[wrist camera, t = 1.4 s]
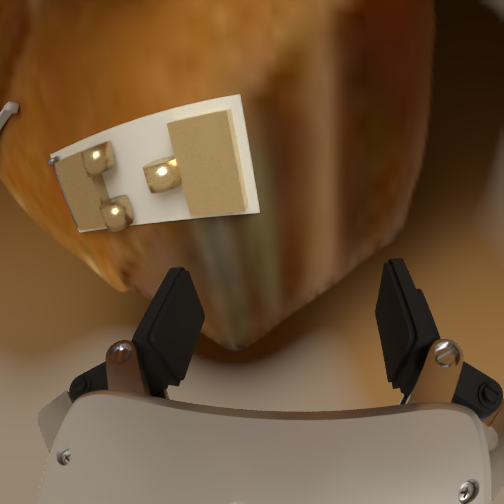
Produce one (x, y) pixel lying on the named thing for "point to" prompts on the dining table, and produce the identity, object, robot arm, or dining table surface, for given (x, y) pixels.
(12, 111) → the door handle
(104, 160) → the frame leaf
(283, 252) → the dining table surface
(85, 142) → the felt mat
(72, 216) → the hinge pin
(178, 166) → the door leaf
